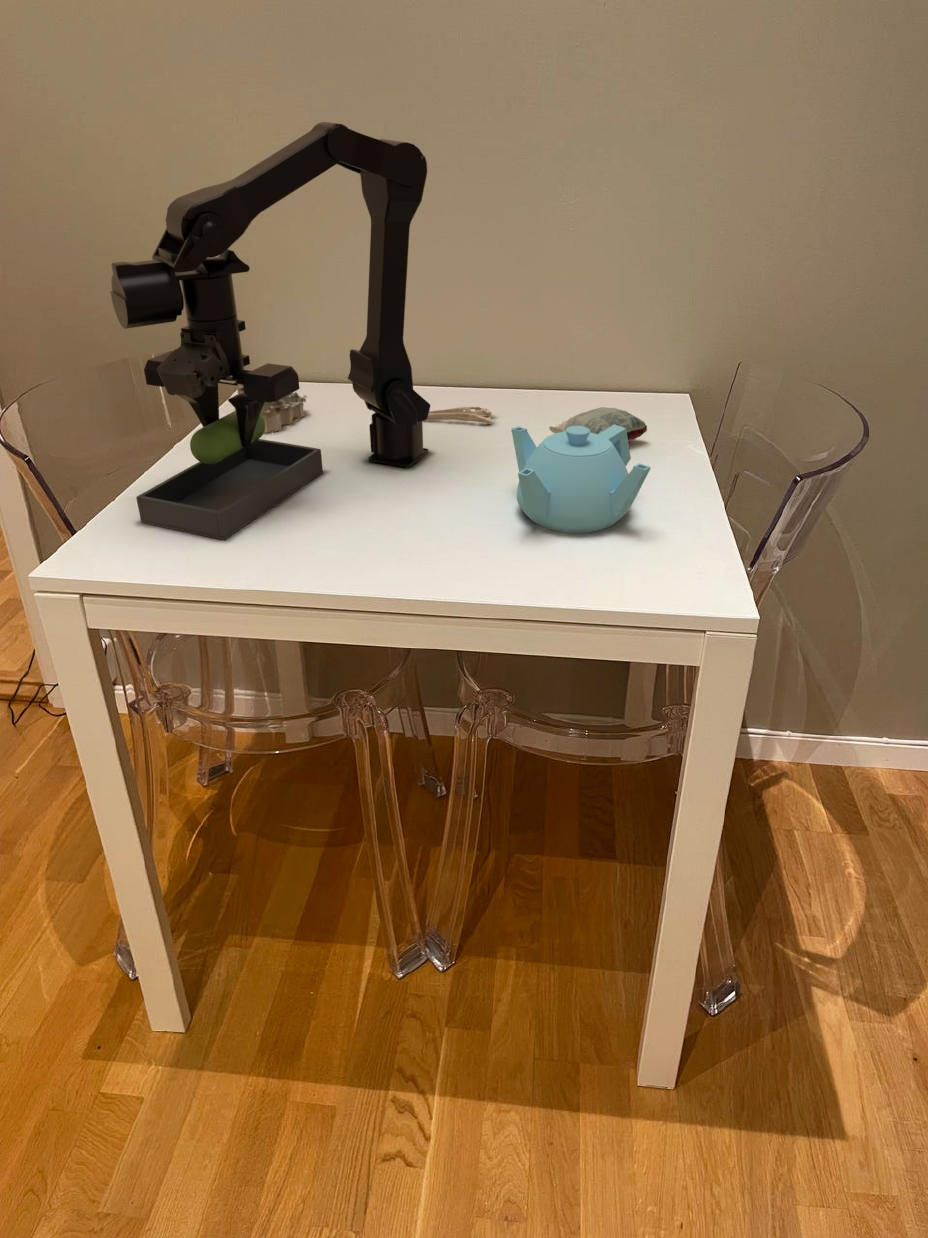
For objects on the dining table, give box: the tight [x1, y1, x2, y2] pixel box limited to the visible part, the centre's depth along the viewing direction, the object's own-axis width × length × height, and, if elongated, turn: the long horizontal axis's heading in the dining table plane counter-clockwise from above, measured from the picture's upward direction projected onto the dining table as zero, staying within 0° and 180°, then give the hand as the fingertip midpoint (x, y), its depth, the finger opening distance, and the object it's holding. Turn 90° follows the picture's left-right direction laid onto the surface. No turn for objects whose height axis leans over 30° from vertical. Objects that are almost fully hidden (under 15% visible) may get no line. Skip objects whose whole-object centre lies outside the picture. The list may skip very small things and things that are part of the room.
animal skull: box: [426, 406, 493, 425], centre depth 145 cm, size 17×5×2 cm, turn 87°
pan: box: [135, 438, 324, 541], centre depth 120 cm, size 12×22×3 cm, turn 156°
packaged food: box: [549, 406, 648, 443], centre depth 135 cm, size 9×12×5 cm
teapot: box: [511, 424, 651, 534], centre depth 113 cm, size 15×15×11 cm
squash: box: [189, 410, 266, 464], centre depth 117 cm, size 4×12×4 cm, turn 156°
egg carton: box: [234, 391, 308, 434], centre depth 144 cm, size 11×8×4 cm
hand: (230, 443), depth 117 cm, fingers closed on squash, 4 cm apart
